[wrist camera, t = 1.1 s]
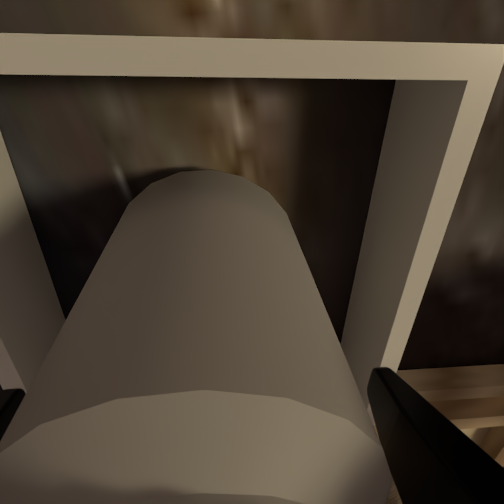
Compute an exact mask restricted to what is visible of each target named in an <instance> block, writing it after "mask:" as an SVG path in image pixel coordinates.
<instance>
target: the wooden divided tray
mask: <svg viewBox="0 0 504 504" xmlns="http://www.w3.org/2000/svg"><path fill="white" fill-rule="evenodd" d="M396 374H397V375H398V376H400V377H401V378H402V379H403V380H404V381H405V382H406V383H408V384H409V385H410V386H411V387H412V388H413V389H414V390H416V391H417V392H418V393H419V394H420V395H421V396H422V397H423V398H425V399H426V400H427V401H428V402H429V403H430V404H431V405H433V406H434V407H435V408H436V409H437V410H438V411H439V412H441V413H442V414H443V415H444V416H445V417H446V418H447V419H449V420H450V421H451V422H452V423H453V424H454V425H455V426H457V427H458V428H459V429H460V430H461V431H462V432H463V433H464V434H466V435H467V436H468V437H469V438H470V439H471V440H472V441H474V442H475V443H476V444H477V445H478V446H479V447H480V448H482V449H483V450H484V451H485V452H486V453H487V454H488V455H490V456H491V457H492V458H493V459H494V460H495V461H496V462H498V463H499V464H500V465H501V466H502V467H503V466H504V364H496V365H480V366H463V367H447V368H430V369H414V370H397V372H396ZM373 426H374V428H375V431H376V433H377V436H378V432H377V429H376V425H373ZM378 438H379V436H378Z"/></svg>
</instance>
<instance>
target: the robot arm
mask: <svg viewBox="0 0 504 504" xmlns="http://www.w3.org/2000/svg"><path fill="white" fill-rule="evenodd" d="M25 395H26V393H25V391H24V390H23V389H21V388H14V389H5V390H2V391H1V392H0V441H1V439H2V437H3V435H4V434H5V432H6V430H7V428H8V426H9V424H10V422H11V421H12V419H13V417H14V415H15V413H16V411H17V410H18V408H19V406H20V404H21V402H22V400H23V398H24V397H25ZM367 396H368V399H369V403H370V407H371V410H372V414H373V418H374V421H375V425H376V429H377V432H378V436H379V440H380V443H381V445H382V448H383V451H384V454H385V457H386V460H387V463H388V466H389V469H390V472H391V475H392V478H393V480H394V483H395V485H396V488H397V491H398V493H399V496H400V499H401V501H402V504H504V468H503V467H502V466H501V465H500V464H499V463H498V462H496V461H495V460H494V459H493V458H492V457H491V456H490V455H488V454H487V453H486V452H485V451H484V450H483V449H482V448H480V447H479V446H478V445H477V444H476V443H475V442H474V441H472V440H471V439H470V438H469V437H468V436H467V435H466V434H464V433H463V432H462V431H461V430H460V429H459V428H458V427H457V426H455V425H454V424H453V423H452V422H451V421H450V420H449V419H447V418H446V417H445V416H444V415H443V414H442V413H441V412H439V411H438V410H437V409H436V408H435V407H434V406H433V405H431V404H430V403H429V402H428V401H427V400H426V399H425V398H423V397H422V396H421V395H420V394H419V393H418V392H417V391H416V390H414V389H413V388H412V387H411V386H410V385H409V384H408V383H406V382H405V381H404V380H403V379H402V378H401V377H400V376H398V375H397V374H396V373H395V372H394V371H393V370H392V369H390V368H388V367H376V368H373V369H372V372H371V375H370V378H369V382H368V385H367Z"/></svg>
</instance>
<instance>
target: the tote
mask: <svg viewBox="0 0 504 504" xmlns="http://www.w3.org/2000/svg"><path fill="white" fill-rule="evenodd" d="M503 63H504V44H463V43H419V42H375V41H331V40H286V39H242V38H198V37H154V36H109V35H65V34H21V33H0V74H15V75H91V76H167V77H243V78H320V79H396V82H395V87H394V92H393V96H392V101H391V106H390V111H389V115H388V120H387V125H386V130H385V134H384V139H383V144H382V149H381V154H380V158H379V163H378V168H377V173H376V177H375V182H374V187H373V192H372V196H371V201H370V206H369V211H368V215H367V220H366V225H365V230H364V234H363V239H362V244H361V249H360V254H359V258H358V263H357V268H356V273H355V277H354V282H353V287H352V292H351V296H350V301H349V306H348V311H347V315H346V320H345V325H344V330H343V335H342V339H341V344H340V345H341V348H342V350H343V353H344V355H345V357H346V360H347V362H348V365H349V367H350V370H351V372H352V374H353V377H354V379H355V382H356V384H357V387H358V389H359V392H360V394H361V396H362V399H363V401H364V404H365V406H366V409H367V411H368V414H369V416H370V418H371V421H372V423H373V425H375V421H374V418H373V414H372V410H371V407H370V403H369V399H368V396H367V385H368V382H369V378H370V375H371V372H372V369H373V368H376V367H388V368H390V369H392V370H393V371H394V372H395V373H396V372H397V369H398V366H399V363H400V361H401V358H402V355H403V352H404V349H405V346H406V343H407V340H408V337H409V335H410V332H411V329H412V326H413V323H414V320H415V317H416V314H417V312H418V309H419V306H420V303H421V300H422V297H423V294H424V291H425V288H426V286H427V283H428V280H429V277H430V274H431V271H432V268H433V265H434V262H435V260H436V257H437V254H438V251H439V248H440V245H441V242H442V239H443V237H444V234H445V231H446V228H447V225H448V222H449V219H450V216H451V213H452V211H453V208H454V205H455V202H456V199H457V196H458V193H459V190H460V187H461V185H462V182H463V179H464V176H465V173H466V170H467V167H468V164H469V162H470V159H471V156H472V153H473V150H474V147H475V144H476V141H477V138H478V136H479V133H480V130H481V127H482V124H483V121H484V118H485V115H486V112H487V110H488V107H489V104H490V101H491V98H492V95H493V92H494V89H495V87H496V84H497V81H498V78H499V75H500V72H501V69H502V66H503ZM65 321H66V320H65V317H64V314H63V311H62V308H61V306H60V303H59V300H58V297H57V294H56V291H55V288H54V285H53V282H52V279H51V277H50V274H49V271H48V268H47V265H46V262H45V259H44V256H43V253H42V250H41V248H40V245H39V242H38V239H37V236H36V233H35V230H34V227H33V224H32V221H31V218H30V216H29V213H28V210H27V207H26V204H25V201H24V198H23V195H22V192H21V189H20V187H19V184H18V181H17V178H16V175H15V172H14V169H13V166H12V163H11V160H10V158H9V155H8V152H7V149H6V146H5V143H4V140H3V137H2V134H1V131H0V385H1V387H2V388H3V390H5V389H14V388H21V389H23V390H24V391H25V393H27V391H28V389H29V387H30V385H31V384H32V382H33V380H34V378H35V376H36V374H37V372H38V371H39V369H40V367H41V365H42V363H43V361H44V360H45V358H46V356H47V354H48V352H49V350H50V348H51V347H52V345H53V343H54V341H55V339H56V337H57V335H58V334H59V332H60V330H61V328H62V326H63V324H64V322H65Z"/></svg>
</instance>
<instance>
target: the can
mask: <svg viewBox="0 0 504 504" xmlns="http://www.w3.org/2000/svg"><path fill="white" fill-rule="evenodd" d="M392 482H393V478H392V475H391V472H390V469H389V466H388V463H387V460H386V457H385V454H384V451H383V448H382V445H381V443H380V440H379V438H378V436H377V433H376V431H375V428H374V426H373V423H372V421H371V418H370V416H369V414H368V411H367V409H366V406H365V404H364V401H363V399H362V396H361V394H360V392H359V389H358V387H357V384H356V382H355V379H354V377H353V374H352V372H351V370H350V367H349V365H348V362H347V360H346V357H345V355H344V353H343V350H342V348H341V345H340V343H339V340H338V338H337V335H336V333H335V331H334V328H333V326H332V323H331V321H330V318H329V316H328V313H327V311H326V309H325V306H324V304H323V301H322V299H321V296H320V294H319V291H318V289H317V287H316V284H315V282H314V279H313V277H312V274H311V272H310V269H309V267H308V265H307V262H306V260H305V257H304V255H303V252H302V250H301V247H300V245H299V243H298V240H297V238H296V235H295V233H294V230H293V228H292V225H291V223H290V221H289V218H288V216H287V213H286V212H285V211H284V210H283V209H282V207H281V206H280V205H279V204H278V203H277V201H276V200H275V199H274V198H273V197H272V195H271V194H270V193H269V192H268V191H266V190H264V189H263V188H261V187H259V186H258V185H256V184H254V183H253V182H251V181H249V180H248V179H246V178H244V177H242V176H238V175H233V174H229V173H225V172H221V171H216V170H199V171H185V172H178V173H176V174H173V175H171V176H168V177H166V178H164V179H161V180H159V181H156V182H154V183H151V184H150V185H149V186H148V187H147V188H145V189H144V190H143V191H142V192H141V193H140V194H139V195H138V196H136V197H135V198H134V199H133V200H132V201H131V202H130V203H129V204H128V206H127V208H126V210H125V211H124V213H123V215H122V217H121V219H120V221H119V223H118V224H117V226H116V228H115V230H114V232H113V234H112V235H111V237H110V239H109V241H108V243H107V245H106V247H105V248H104V250H103V252H102V254H101V256H100V258H99V260H98V261H97V263H96V265H95V267H94V269H93V271H92V272H91V274H90V276H89V278H88V280H87V282H86V284H85V285H84V287H83V289H82V291H81V293H80V295H79V297H78V298H77V300H76V302H75V304H74V306H73V308H72V310H71V311H70V313H69V315H68V317H67V319H66V321H65V322H64V324H63V326H62V328H61V330H60V332H59V334H58V335H57V337H56V339H55V341H54V343H53V345H52V347H51V348H50V350H49V352H48V354H47V356H46V358H45V360H44V361H43V363H42V365H41V367H40V369H39V371H38V372H37V374H36V376H35V378H34V380H33V382H32V384H31V385H30V387H29V389H28V391H27V393H26V395H25V397H24V398H23V400H22V402H21V404H20V406H19V408H18V410H17V411H16V413H15V415H14V417H13V419H12V421H11V422H10V424H9V426H8V428H7V430H6V432H5V434H4V435H3V437H2V439H1V441H0V504H385V503H386V500H387V497H388V494H389V491H390V488H391V485H392Z"/></svg>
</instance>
